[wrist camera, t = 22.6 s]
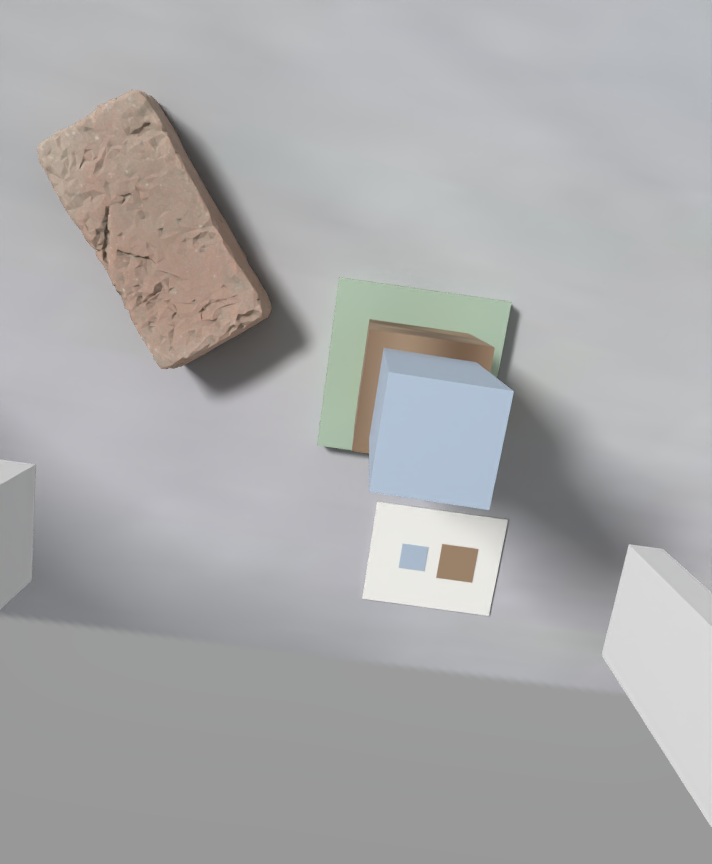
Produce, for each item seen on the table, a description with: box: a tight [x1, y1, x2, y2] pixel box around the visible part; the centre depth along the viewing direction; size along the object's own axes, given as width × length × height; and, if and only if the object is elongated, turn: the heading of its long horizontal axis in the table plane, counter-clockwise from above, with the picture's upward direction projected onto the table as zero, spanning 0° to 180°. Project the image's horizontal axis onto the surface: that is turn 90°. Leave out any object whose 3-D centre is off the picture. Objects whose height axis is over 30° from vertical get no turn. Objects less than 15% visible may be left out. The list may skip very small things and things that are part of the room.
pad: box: [317, 277, 512, 450], centre depth 48 cm, size 12×12×1 cm
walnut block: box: [352, 319, 495, 454], centre depth 43 cm, size 7×7×10 cm
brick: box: [37, 90, 272, 369], centre depth 45 cm, size 17×8×5 cm, turn 28°
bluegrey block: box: [369, 348, 514, 510], centre depth 33 cm, size 5×5×10 cm
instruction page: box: [362, 502, 508, 616], centre depth 52 cm, size 10×8×1 cm
